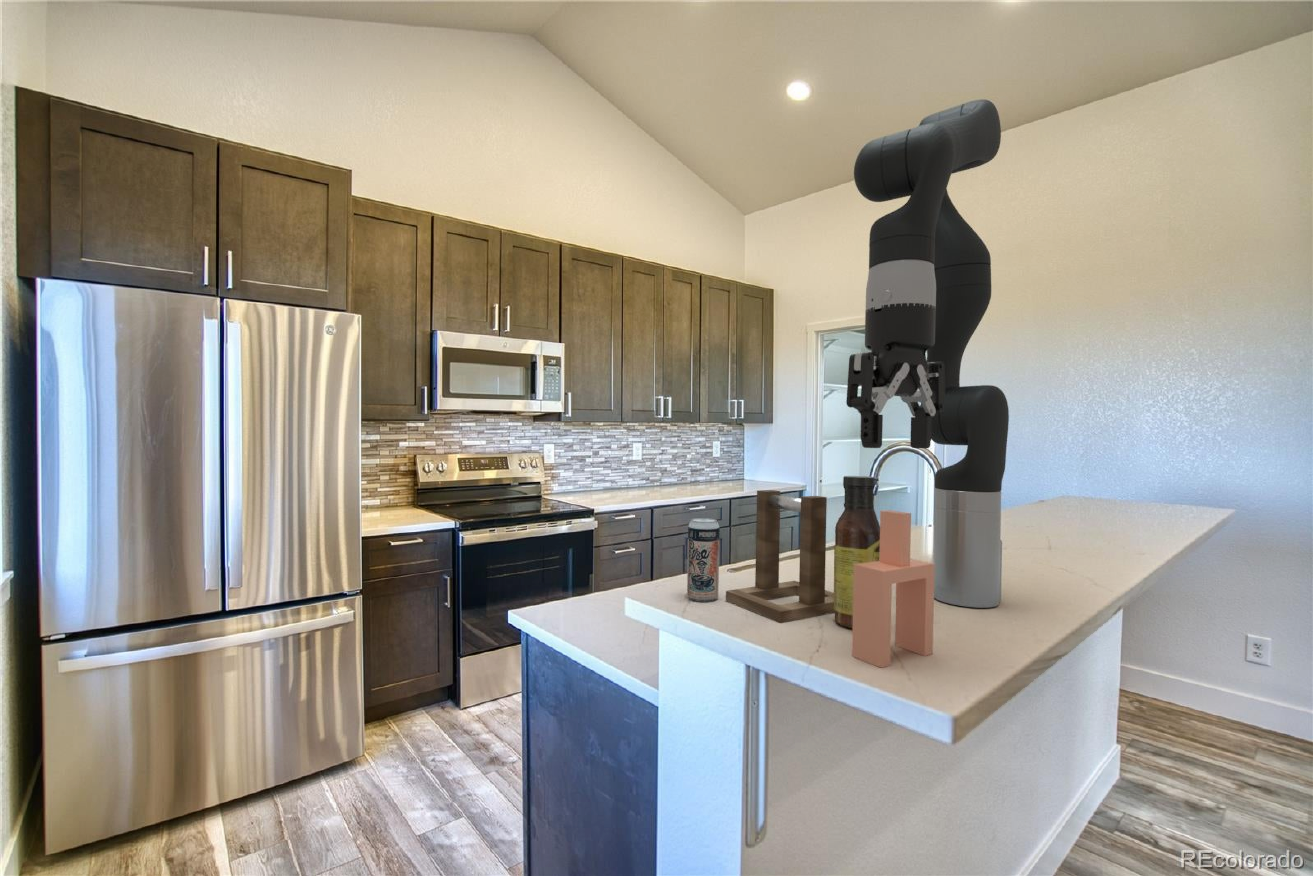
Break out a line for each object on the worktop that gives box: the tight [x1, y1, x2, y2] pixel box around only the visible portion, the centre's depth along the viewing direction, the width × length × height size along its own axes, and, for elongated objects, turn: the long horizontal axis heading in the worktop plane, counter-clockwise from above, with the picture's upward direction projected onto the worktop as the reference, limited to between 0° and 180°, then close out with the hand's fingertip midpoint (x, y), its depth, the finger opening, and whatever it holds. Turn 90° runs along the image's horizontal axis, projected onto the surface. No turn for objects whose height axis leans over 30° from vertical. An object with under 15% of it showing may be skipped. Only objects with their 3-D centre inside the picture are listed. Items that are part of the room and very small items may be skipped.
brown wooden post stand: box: [725, 489, 835, 624], centre depth 89 cm, size 14×12×16 cm
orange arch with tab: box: [851, 509, 935, 668], centre depth 69 cm, size 9×4×16 cm, turn 121°
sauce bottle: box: [833, 475, 880, 629], centre depth 81 cm, size 7×6×20 cm
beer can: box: [686, 517, 720, 602], centre depth 92 cm, size 5×5×12 cm
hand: (896, 448), depth 69 cm, fingers open, 8 cm apart
